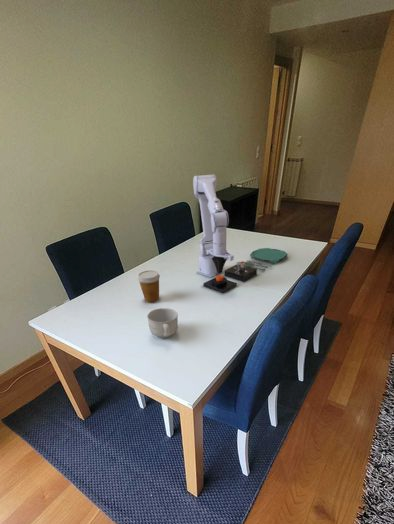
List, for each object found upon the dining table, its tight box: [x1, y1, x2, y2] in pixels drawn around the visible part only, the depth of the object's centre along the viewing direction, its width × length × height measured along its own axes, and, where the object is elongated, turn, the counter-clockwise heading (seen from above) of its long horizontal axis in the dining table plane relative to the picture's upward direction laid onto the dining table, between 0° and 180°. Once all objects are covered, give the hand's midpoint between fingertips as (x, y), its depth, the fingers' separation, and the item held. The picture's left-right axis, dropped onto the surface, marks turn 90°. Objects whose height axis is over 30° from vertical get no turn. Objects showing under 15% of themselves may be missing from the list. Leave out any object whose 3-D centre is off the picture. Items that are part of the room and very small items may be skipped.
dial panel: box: [223, 264, 258, 283], centre depth 146 cm, size 12×11×3 cm
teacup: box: [146, 307, 179, 338], centre depth 105 cm, size 14×11×8 cm
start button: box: [215, 274, 225, 281], centre depth 136 cm, size 4×4×2 cm
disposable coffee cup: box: [136, 269, 161, 304], centre depth 127 cm, size 10×10×12 cm
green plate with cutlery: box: [244, 247, 288, 272], centre depth 161 cm, size 20×30×2 cm, turn 141°
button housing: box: [202, 276, 237, 294], centre depth 137 cm, size 12×10×4 cm
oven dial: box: [236, 260, 246, 271], centre depth 144 cm, size 4×4×4 cm
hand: (219, 272), depth 134 cm, fingers closed
